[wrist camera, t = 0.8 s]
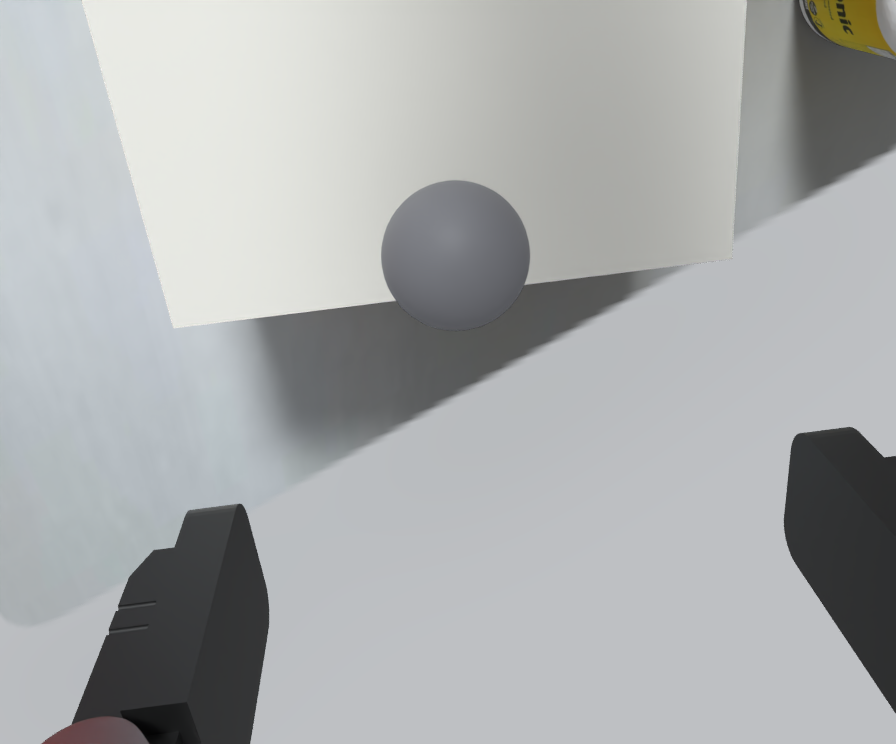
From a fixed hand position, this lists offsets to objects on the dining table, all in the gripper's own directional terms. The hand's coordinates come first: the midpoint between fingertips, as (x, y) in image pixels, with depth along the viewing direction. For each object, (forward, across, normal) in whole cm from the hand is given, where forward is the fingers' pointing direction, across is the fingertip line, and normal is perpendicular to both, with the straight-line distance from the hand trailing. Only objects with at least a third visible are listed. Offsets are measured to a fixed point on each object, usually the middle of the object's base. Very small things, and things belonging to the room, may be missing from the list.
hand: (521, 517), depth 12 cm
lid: (+16, 0, -7) cm, 17 cm away
